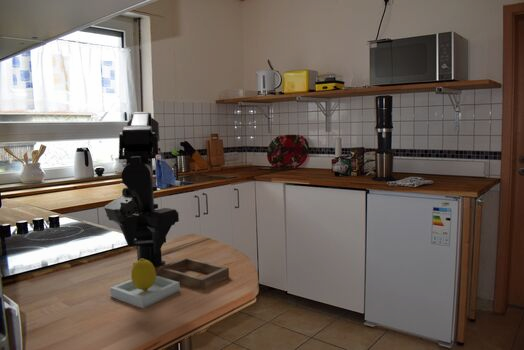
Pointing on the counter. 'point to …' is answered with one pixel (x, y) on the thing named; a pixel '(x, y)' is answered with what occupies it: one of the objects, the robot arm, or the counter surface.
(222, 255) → the counter surface
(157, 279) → the dish
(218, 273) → the holder frame
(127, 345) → the counter surface
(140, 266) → the lemon
